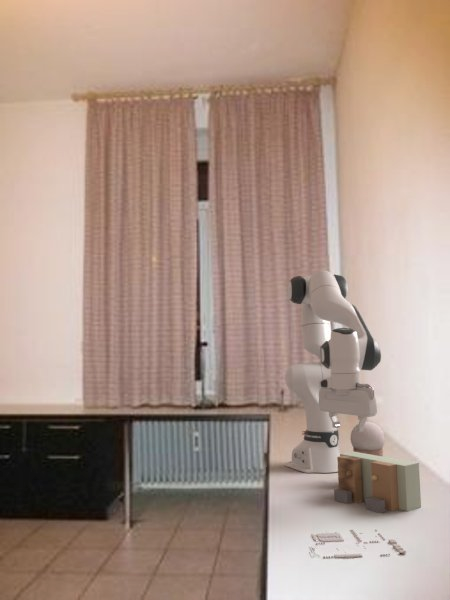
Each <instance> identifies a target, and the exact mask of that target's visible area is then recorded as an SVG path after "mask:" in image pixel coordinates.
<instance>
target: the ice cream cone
mask: <svg viewBox="0 0 450 600" xmlns="http://www.w3.org/2000/svg"><path fill="white" fill-rule="evenodd" d="M356 425H358V423H357V424H356ZM356 425H355V426H354V427H352V430H351V432H350V443H351V447H353V448H352V450H353V451H352V452H359V453H365V454H371V455H376V456H382V457H384V456H383V455H384V454H383V453H384V452H383V451H384V449H383V448H384V445H385V438H386V437H385V433H384V431H383V429H382V428H381V427H380V426H379V425H378V424H377V423H374V422H372V421H367V420H366V422H365V424H364V431H362V432H359V431H356Z"/></svg>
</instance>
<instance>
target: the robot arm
mask: <svg viewBox="0 0 450 600" xmlns="http://www.w3.org/2000/svg"><path fill="white" fill-rule="evenodd" d="M347 283H348V282H347V281H346V278H345V277H344V276H343V275H340V274H339V275H338V274H333V273H332V272H331V271H329V270H324V269H321V270H316V271H315V272H313V273H312V274H310V275H309V274H308V275H304V276H301V275H297V276H294V277H291V278H290V280H289V283H288V286H287V294H288V298H289V300H290V302H291V303H292V304H297V305H302V307H301V317H300V319H301V320H300V321H301V337H302V341H301V342H302V346H303V348H304V350H305V351H307V352H308V353H310V354H312V355H315V356H316V357H317V358H318V359H319V361H318V362H299V363H296V364H291V365H290V366H289V367H287V369H286V371H285V375H284V381H285V384H286V387H287V388H288V390H290V391H291V392H292V393H294V394H295V395H296V396H297V397H298V398H299V400H300V401H301V403H302V405H303V408H304V411H305V421H306V430H305V431H303V430H302V433H301V435H302V436H303V435H304V436H303V440H302V441H301V442H300V443H299V444H298V445H296V446H295V447H294V448H293V449H292V451H291V460H290V461H287V462H286V463H285V467H287V468H291V469H292V470H293V469H294V470H295V471H296V470H297V471H298V472H299V471H300V472H302V473H305V474H307V473H309V474H310V473H315V474H316V473H319V474H320V473H322V474H323V473H326V474H329V473H338V460H337V457H340V454H341V453H340V450H341V449H340V446H339V440H340V439H339V436H340V435H339V434H340V433H339V430H338V429H339V428H340V427H341V425H340V424H341V422H340V421H338V418H337V417H338V414H340V415H349V416H357V419H358V420H359V421H358V423H357V424H358V425H357V424H355V426H356V431H359V432H362V431H364V424H365V422H366V421H367V420H368V419H367V418H370V417H375V416H376V415H377V413H378V407H377V400H376V396H375V389H374V387H373V386H372V385H371V384H370V383H362V376H361V375H362V373H361V371H373V370H374V369H375V368H376V367H377V366H379V364H380V363H381V361H382V360H381V359H382V352H381V347H380V345H379V344H378V342H377V341H376V339H374V337H373V335H372V334H371V332H370V330H369V328H368V326H367V324H366V322H365V321H364V319H363V317H362V315H361V313H360V312H359V309H358V308H357V306H356V305H354V304H352V303H350V302H349V301H348V300H347V299H346V297H347V294H348V284H347ZM331 322H332V323H335V324H336V323H337V324H338V325H339V324H340V325H341V326H346V327H339V328H338V327H337V328H333V329H332V325H331Z"/></svg>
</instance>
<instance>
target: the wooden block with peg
mask: <svg viewBox="0 0 450 600" xmlns="http://www.w3.org/2000/svg"><path fill="white" fill-rule="evenodd" d="M337 460H338V472H337V475H338V477H337V480H338V481H337V483H338V489H342V490H346V491H350V492H352V503H359V502H363V501H364V500H363V493H362V472H361V459H360V458H355V457H349V456H340V457H337Z"/></svg>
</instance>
